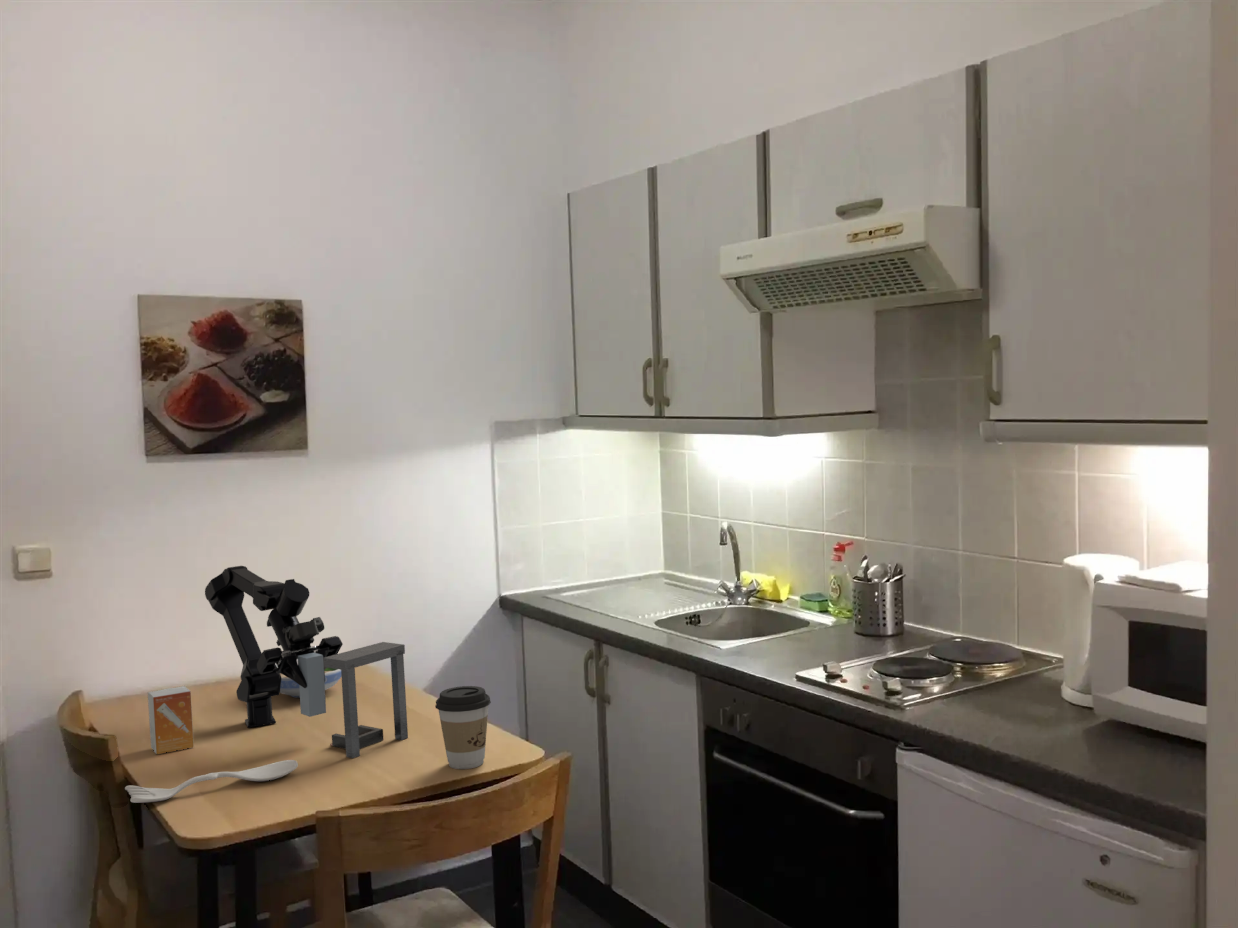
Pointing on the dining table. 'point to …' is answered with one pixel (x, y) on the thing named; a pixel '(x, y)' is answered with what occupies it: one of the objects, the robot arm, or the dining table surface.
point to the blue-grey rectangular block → (312, 684)
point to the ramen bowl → (293, 688)
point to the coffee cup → (464, 725)
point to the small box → (170, 719)
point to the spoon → (252, 774)
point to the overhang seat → (356, 734)
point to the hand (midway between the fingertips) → (315, 684)
